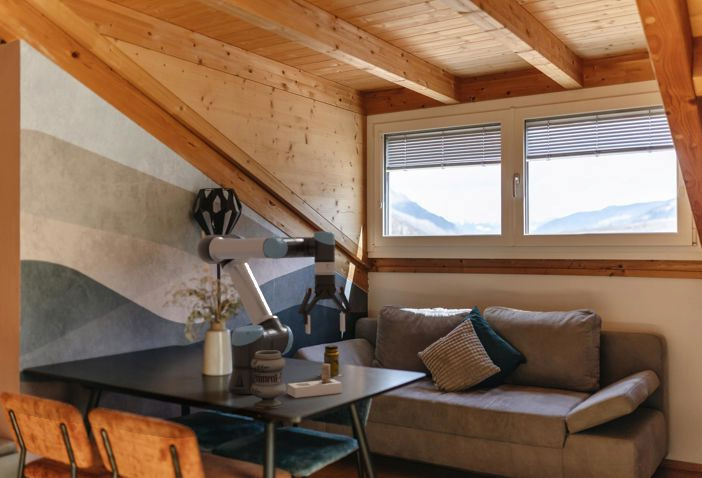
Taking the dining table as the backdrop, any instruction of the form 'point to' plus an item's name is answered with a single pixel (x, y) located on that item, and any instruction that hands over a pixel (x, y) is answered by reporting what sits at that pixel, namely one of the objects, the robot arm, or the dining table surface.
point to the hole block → (314, 388)
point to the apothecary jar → (268, 378)
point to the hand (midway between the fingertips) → (325, 332)
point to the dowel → (325, 373)
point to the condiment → (332, 360)
